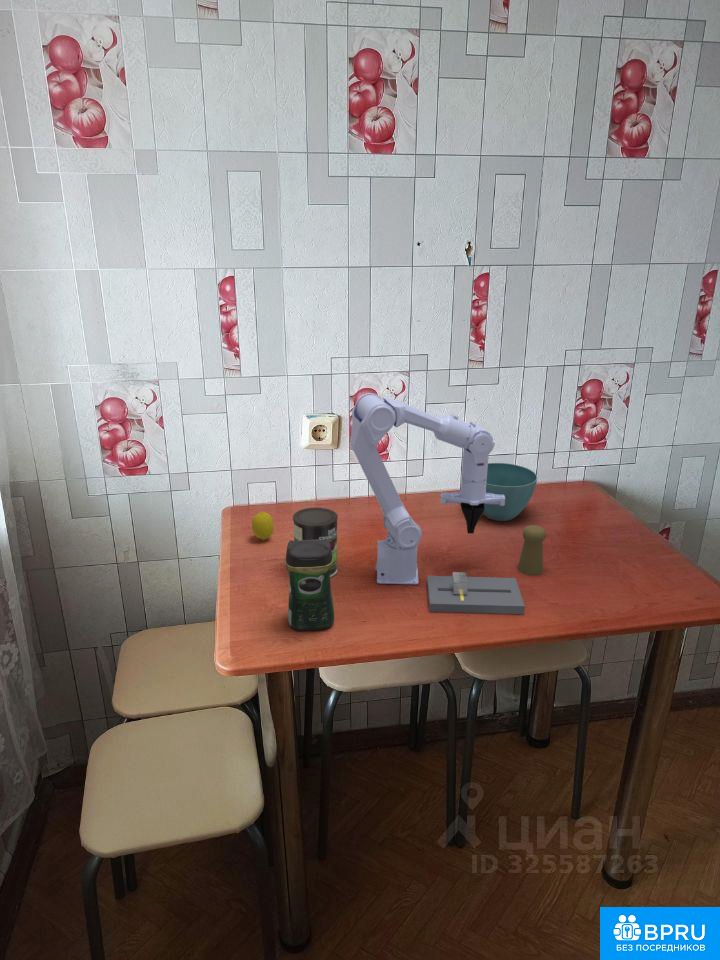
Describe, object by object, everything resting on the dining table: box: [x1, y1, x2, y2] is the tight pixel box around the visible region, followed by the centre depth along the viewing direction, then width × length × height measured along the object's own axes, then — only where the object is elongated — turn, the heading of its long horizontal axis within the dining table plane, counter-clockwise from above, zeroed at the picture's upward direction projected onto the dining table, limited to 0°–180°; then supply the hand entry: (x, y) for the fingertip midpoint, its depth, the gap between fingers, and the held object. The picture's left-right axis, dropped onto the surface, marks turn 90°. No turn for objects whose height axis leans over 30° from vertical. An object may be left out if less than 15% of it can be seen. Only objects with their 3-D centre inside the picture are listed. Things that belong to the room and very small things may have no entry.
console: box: [426, 575, 526, 615], centre depth 159 cm, size 20×12×2 cm, turn 88°
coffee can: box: [292, 507, 338, 579], centre depth 168 cm, size 10×10×14 cm
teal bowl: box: [482, 462, 538, 522], centre depth 198 cm, size 18×18×12 cm
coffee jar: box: [284, 539, 335, 631], centre depth 147 cm, size 10×8×19 cm
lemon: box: [251, 510, 275, 541], centre depth 184 cm, size 6×6×8 cm
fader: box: [451, 571, 468, 595], centre depth 158 cm, size 3×4×3 cm
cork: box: [517, 524, 547, 576], centre depth 170 cm, size 6×6×11 cm
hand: (470, 531), depth 169 cm, fingers closed
